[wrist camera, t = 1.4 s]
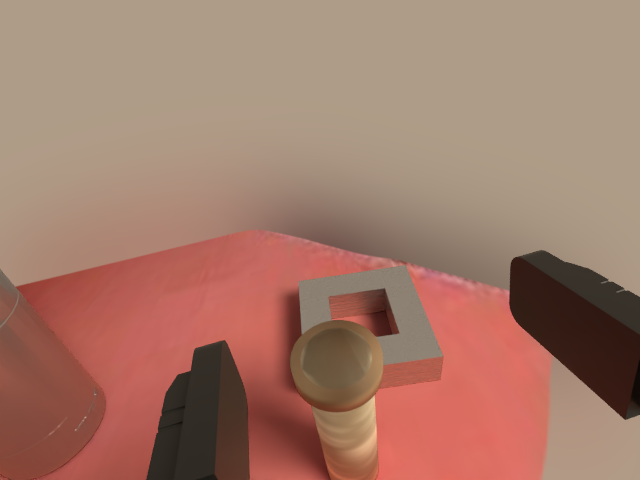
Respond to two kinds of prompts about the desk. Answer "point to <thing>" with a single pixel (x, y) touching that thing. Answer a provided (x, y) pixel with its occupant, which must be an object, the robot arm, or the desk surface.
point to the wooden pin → (341, 394)
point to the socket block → (375, 296)
